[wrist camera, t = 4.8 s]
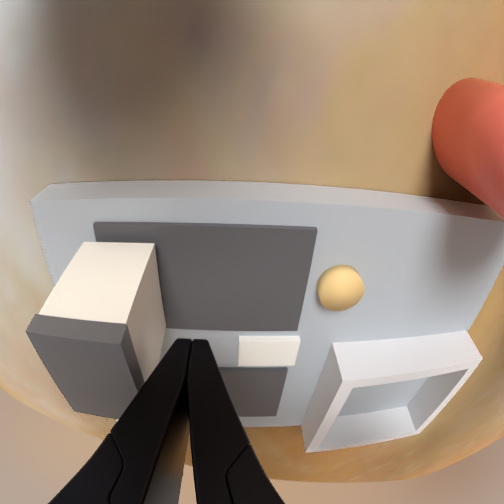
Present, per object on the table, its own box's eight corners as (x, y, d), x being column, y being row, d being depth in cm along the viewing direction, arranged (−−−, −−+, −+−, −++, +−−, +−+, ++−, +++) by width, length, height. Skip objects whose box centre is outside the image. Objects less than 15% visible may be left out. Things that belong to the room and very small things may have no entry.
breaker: (155, 241, 9) (120, 344, 6) (167, 326, 11) (150, 423, 8) (82, 240, 9) (25, 331, 6) (104, 322, 11) (74, 411, 8)
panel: (501, 208, 11) (577, 279, 7) (405, 392, 19) (428, 459, 14) (49, 184, 10) (-40, 271, 5) (119, 398, 18) (104, 474, 13)
